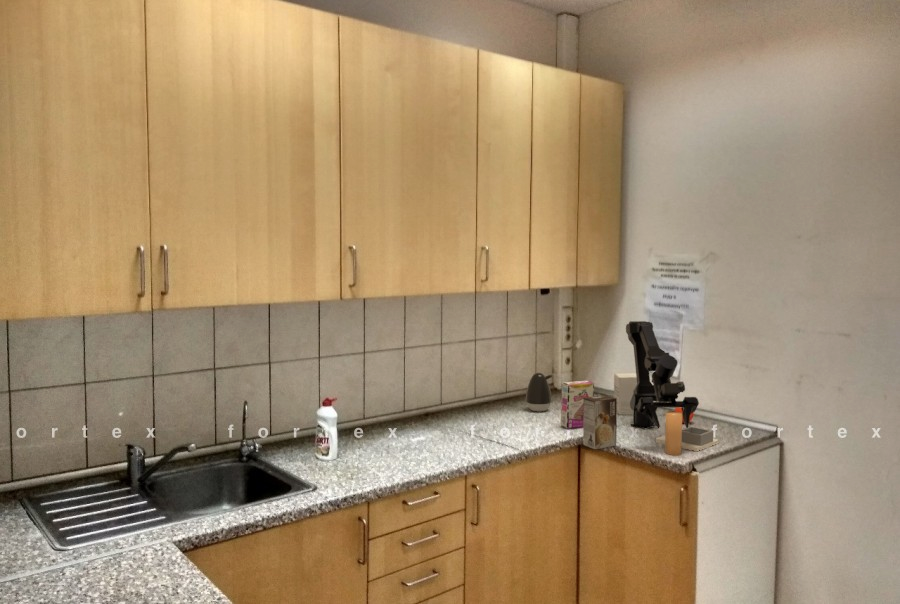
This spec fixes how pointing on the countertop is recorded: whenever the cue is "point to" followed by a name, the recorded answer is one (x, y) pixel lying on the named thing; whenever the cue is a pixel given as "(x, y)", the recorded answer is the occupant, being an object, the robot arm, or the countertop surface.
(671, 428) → the orange rounded part
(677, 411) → the clementine
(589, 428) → the coffee box
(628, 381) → the supplement box
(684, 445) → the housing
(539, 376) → the pump dispenser
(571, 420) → the candy bar box
